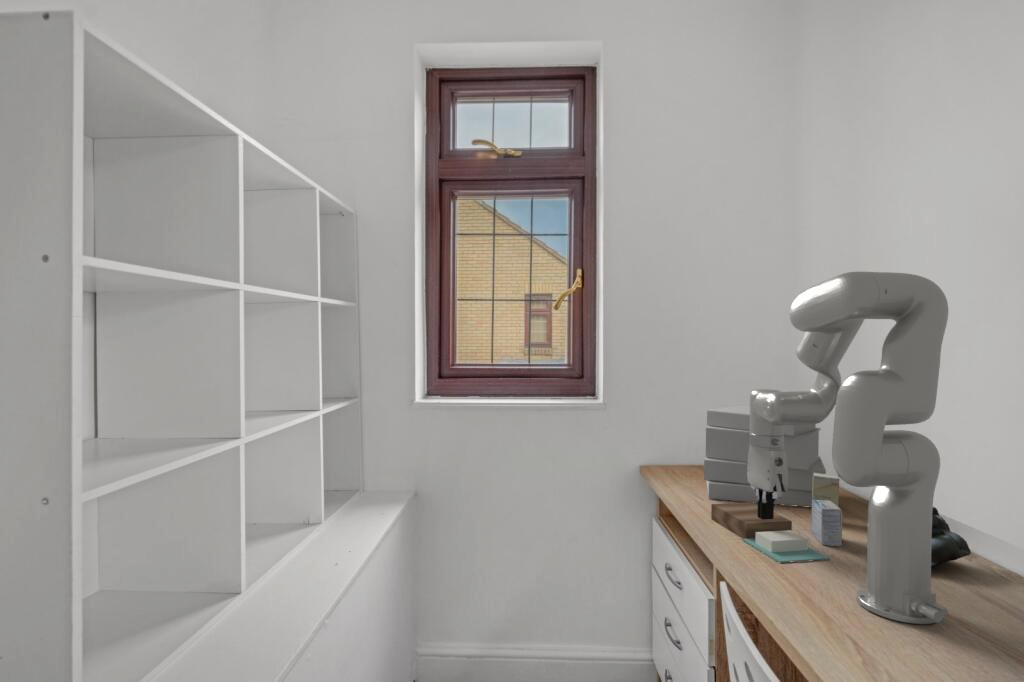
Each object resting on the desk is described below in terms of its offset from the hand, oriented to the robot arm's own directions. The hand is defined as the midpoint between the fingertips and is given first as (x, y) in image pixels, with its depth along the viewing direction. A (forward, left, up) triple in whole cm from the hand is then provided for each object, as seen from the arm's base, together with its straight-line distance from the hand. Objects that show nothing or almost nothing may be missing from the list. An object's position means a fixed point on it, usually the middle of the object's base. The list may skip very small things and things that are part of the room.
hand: (765, 518), depth 139 cm
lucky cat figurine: (-18, -24, -5) cm, 31 cm away
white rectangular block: (-6, 0, -3) cm, 7 cm away
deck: (+8, -1, -5) cm, 9 cm away
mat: (-7, 0, -5) cm, 9 cm away
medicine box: (-3, -14, -5) cm, 15 cm away
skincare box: (+10, -24, -5) cm, 27 cm away
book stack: (+36, -23, -5) cm, 44 cm away
